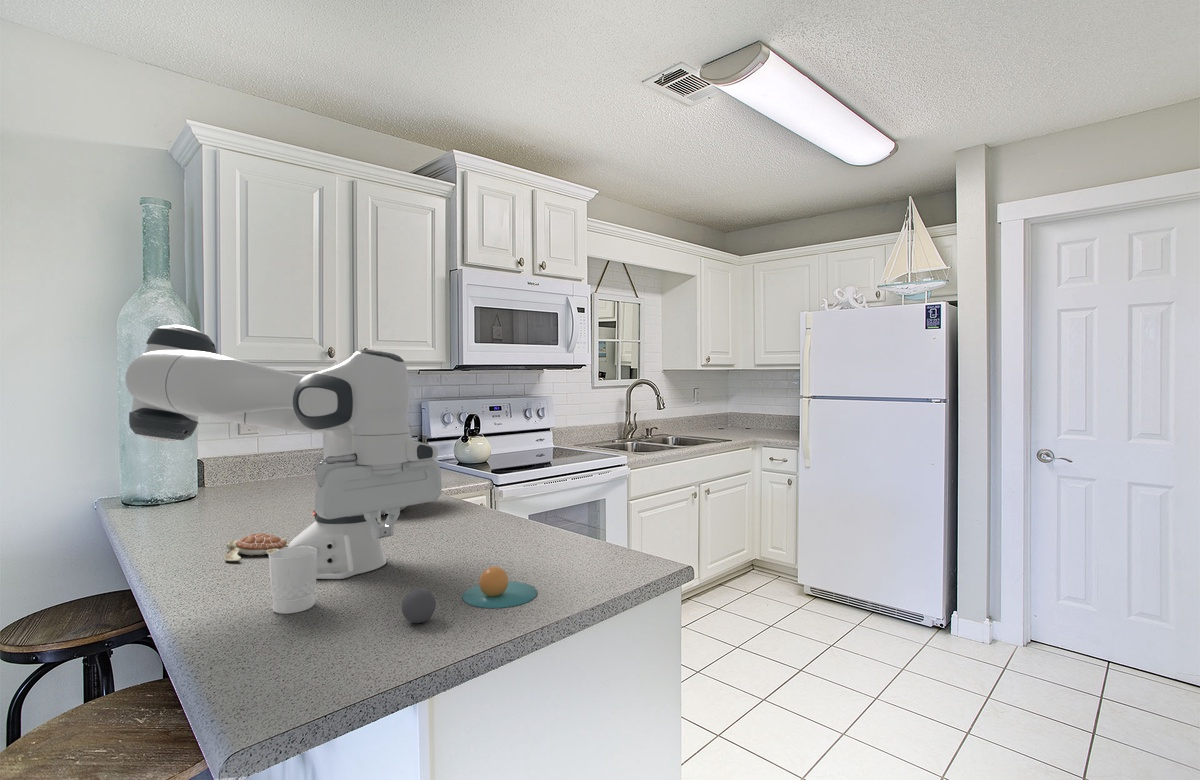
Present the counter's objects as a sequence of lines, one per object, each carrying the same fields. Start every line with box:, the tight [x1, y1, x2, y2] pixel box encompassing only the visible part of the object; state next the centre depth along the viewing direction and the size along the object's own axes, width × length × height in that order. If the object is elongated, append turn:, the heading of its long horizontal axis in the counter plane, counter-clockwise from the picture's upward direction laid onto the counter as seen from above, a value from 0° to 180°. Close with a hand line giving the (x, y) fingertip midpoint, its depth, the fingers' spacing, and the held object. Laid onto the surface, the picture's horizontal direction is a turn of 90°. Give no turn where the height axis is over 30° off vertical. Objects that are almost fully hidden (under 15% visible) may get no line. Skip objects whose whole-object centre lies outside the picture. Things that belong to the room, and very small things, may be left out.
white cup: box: [268, 546, 318, 615], centre depth 109 cm, size 8×8×10 cm
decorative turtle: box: [224, 532, 290, 562], centre depth 145 cm, size 18×17×5 cm
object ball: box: [478, 566, 510, 597], centre depth 114 cm, size 6×6×6 cm
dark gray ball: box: [401, 588, 437, 624], centre depth 102 cm, size 6×6×6 cm
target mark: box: [461, 580, 538, 609], centre depth 115 cm, size 14×14×1 cm
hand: (382, 537), depth 97 cm, fingers closed
